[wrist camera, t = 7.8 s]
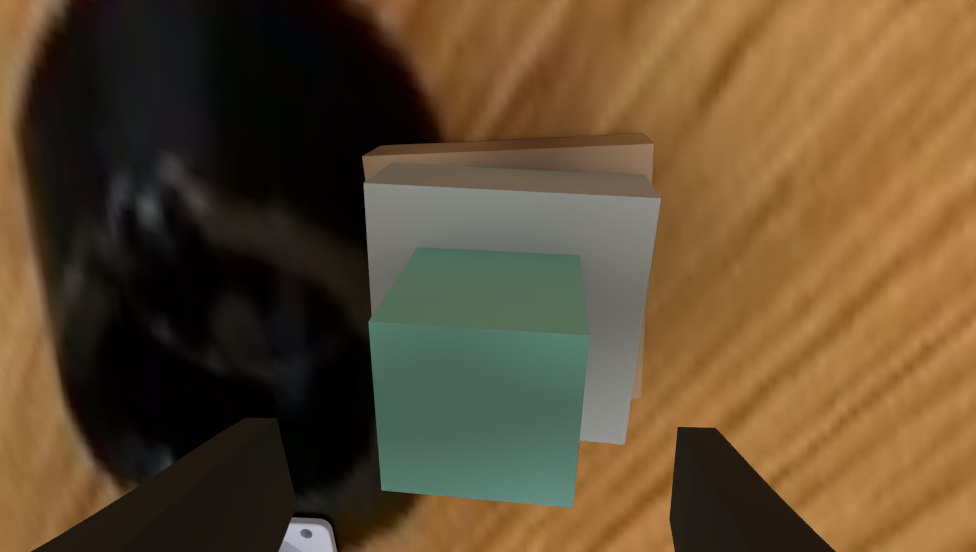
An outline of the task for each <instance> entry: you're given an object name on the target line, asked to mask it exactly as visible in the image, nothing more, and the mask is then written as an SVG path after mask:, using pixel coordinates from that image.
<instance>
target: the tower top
mask: <svg viewBox="0 0 976 552" xmlns="http://www.w3.org/2000/svg"><path fill="white" fill-rule="evenodd" d="M364 198H365V214H366V231H367V247H368V263H369V280H370V296H371V312H372V315H373V314H374V312H375V311H376V309H377V308H378V306H379V305H380V303H381V302H382V300H383V299H384V297H385V296H386V294H387V293H388V291H389V290H390V288H391V287H392V285H393V283H394V282H395V280H396V279H397V277H398V276H399V274H400V273H401V271H402V270H403V268H404V267H405V265H406V264H407V262H408V261H409V259H410V258H411V256H412V255H413V253H414V251H415V250H416V248H437V249H457V250H477V251H497V252H517V253H537V254H557V255H577V256H580V264H581V272H582V279H583V287H584V295H585V303H586V311H587V319H588V327H589V335H590V337H589V347H588V358H587V368H586V378H585V389H584V399H583V409H582V420H581V430H580V441H590V442H601V443H612V444H623V445H625V438H626V432H627V425H628V418H629V411H630V405H631V398H632V391H633V385H634V378H635V371H636V364H637V358H638V351H639V344H640V337H641V331H642V324H643V317H644V311H645V304H646V297H647V290H648V284H649V277H650V270H651V264H652V257H653V250H654V243H655V237H656V230H657V223H658V216H659V210H660V203H661V197H660V196H659V195H658V193H657V192H656V190H655V189H654V187H653V186H652V185H651V183H650V182H649V180H648V179H647V177H646V176H645V175H634V174H613V173H593V172H572V171H551V170H530V169H509V168H488V167H467V166H446V165H425V164H404V163H391V164H389V165H388V166H386V167H385V168H384V169H382V170H381V171H380V172H378V173H377V174H375V175H374V176H373V177H371V178H370V179H368V180H367V181H366V182H364Z"/></svg>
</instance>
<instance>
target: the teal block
mask: <svg viewBox="0 0 976 552" xmlns="http://www.w3.org/2000/svg"><path fill="white" fill-rule="evenodd" d="M369 335H370V348H371V360H372V373H373V386H374V399H375V412H376V424H377V437H378V450H379V463H380V475H381V488H382V490H383V491H394V492H405V493H416V494H427V495H438V496H449V497H460V498H471V499H482V500H493V501H504V502H515V503H525V504H536V505H547V506H558V507H569V508H573V503H574V492H575V482H576V472H577V461H578V451H579V441H580V430H581V420H582V409H583V399H584V389H585V378H586V368H587V358H588V347H589V337H590V335H589V327H588V319H587V311H586V303H585V295H584V287H583V279H582V272H581V264H580V256H577V255H557V254H537V253H517V252H497V251H477V250H457V249H437V248H416V250H415V251H414V253H413V255H412V256H411V258H410V259H409V261H408V262H407V264H406V265H405V267H404V268H403V270H402V271H401V273H400V274H399V276H398V277H397V279H396V280H395V282H394V283H393V285H392V287H391V288H390V290H389V291H388V293H387V294H386V296H385V297H384V299H383V300H382V302H381V303H380V305H379V306H378V308H377V309H376V311H375V312H374V314H373V315H372V317H371V319H370V320H369Z"/></svg>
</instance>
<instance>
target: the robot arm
mask: <svg viewBox="0 0 976 552" xmlns="http://www.w3.org/2000/svg"><path fill="white" fill-rule="evenodd" d="M296 505H297V503H296V498H295V494H294V490H293V486H292V482H291V477H290V473H289V469H288V465H287V461H286V457H285V452H284V448H283V444H282V440H281V436H280V431H279V427H278V423H277V419H276V418H245V419H243V420H241V421H239V422H237V423H236V424H234V425H232V426H231V427H229V428H227V429H226V430H224V431H223V432H221V433H219V434H218V435H216V436H215V437H213V438H212V439H210V440H208V441H207V442H205V443H204V444H202V445H201V446H199V447H198V448H196V449H195V450H193V451H192V452H190V453H189V454H187V455H186V456H184V457H183V458H181V459H180V460H178V461H177V462H175V463H174V464H172V465H171V466H169V467H167V468H166V469H164V470H163V471H161V472H160V473H158V474H157V475H155V476H154V477H152V478H151V479H149V480H148V481H146V482H145V483H143V484H142V485H140V486H139V487H137V488H135V489H134V490H132V491H131V492H129V493H128V494H126V495H124V496H123V497H121V498H120V499H118V500H116V501H115V502H113V503H111V504H110V505H108V506H107V507H105V508H103V509H102V510H100V511H98V512H97V513H95V514H94V515H92V516H90V517H89V518H87V519H85V520H84V521H82V522H81V523H79V524H77V525H76V526H74V527H72V528H71V529H69V530H68V531H66V532H64V533H63V534H61V535H59V536H58V537H56V538H54V539H52V540H51V541H49V542H47V543H45V544H44V545H42V546H40V547H38V548H37V549H35V550H33V551H31V552H337V549H336V544H335V539H334V535H333V530H332V527H331V525H330V524H329V523H328V522H327V521H326V520H324V519H316V518H294V517H292V516H293V513H294V510H295V508H296ZM670 525H671V531H672V536H673V542H674V548H675V552H836V551H834V550H833V549H832V548H831V547H830V546H829V545H828V544H827V543H826V542H825V541H824V540H823V539H822V538H821V537H820V536H819V535H818V534H817V533H816V532H815V531H814V530H813V529H812V528H811V527H810V526H809V525H808V524H807V523H806V522H805V521H804V520H803V519H802V518H801V517H800V516H799V515H798V514H797V513H796V512H795V511H794V510H793V509H792V508H791V507H790V506H789V505H788V504H787V503H786V502H785V501H784V500H783V499H782V498H781V497H780V496H779V495H778V494H777V493H776V492H775V491H774V490H773V489H772V488H771V487H770V486H769V485H768V484H767V483H766V482H765V481H764V480H763V478H762V477H761V476H760V475H759V474H758V473H757V472H756V471H755V470H754V469H753V468H752V467H751V466H750V465H749V463H748V462H747V461H746V460H745V459H744V458H743V457H742V456H741V455H740V454H739V453H738V452H737V450H736V449H735V448H734V447H733V446H732V445H731V444H730V443H729V442H728V441H727V440H726V439H725V437H724V436H723V435H722V434H721V433H720V432H719V431H718V430H717V429H716V428H696V427H678V430H677V442H676V453H675V464H674V475H673V486H672V497H671V509H670ZM307 529H308V530H307Z"/></svg>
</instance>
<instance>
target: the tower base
mask: <svg viewBox="0 0 976 552" xmlns="http://www.w3.org/2000/svg"><path fill="white" fill-rule="evenodd" d="M653 154H654V143H653V142H652V141H651V140H650V139H649V138H648V137H647V136H645V135H644V134H624V135H602V136H580V137H558V138H536V139H514V140H492V141H470V142H448V143H426V144H405V145H383V146H379V147H378V148H376V149H374V150H372V151H371V152H369V153H367V154H365V155H364V156H362V160H363V166H364V173H365V180H366V181H367V180H368V179H370V178H371V177H373V176H374V175H375V174H377V173H378V172H380V171H381V170H382V169H384V168H385V167H386V166H388V165H389V164H391V163H404V164H425V165H446V166H467V167H488V168H509V169H530V170H551V171H572V172H593V173H613V174H634V175H645V176H646V177H647V179H648V180H649V182H650V183H651V185H652V174H653ZM645 313H646V304H645V311H644V317H643V324H642V331H641V337H640V344H639V351H638V358H637V364H636V371H635V378H634V385H633V391H632V398H631V399H641V392H642V372H643V353H644V333H645Z"/></svg>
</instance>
